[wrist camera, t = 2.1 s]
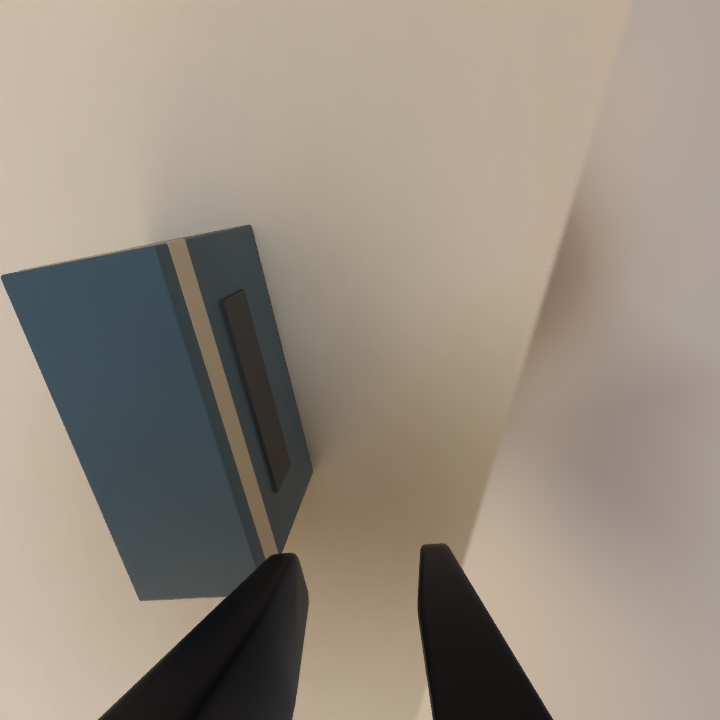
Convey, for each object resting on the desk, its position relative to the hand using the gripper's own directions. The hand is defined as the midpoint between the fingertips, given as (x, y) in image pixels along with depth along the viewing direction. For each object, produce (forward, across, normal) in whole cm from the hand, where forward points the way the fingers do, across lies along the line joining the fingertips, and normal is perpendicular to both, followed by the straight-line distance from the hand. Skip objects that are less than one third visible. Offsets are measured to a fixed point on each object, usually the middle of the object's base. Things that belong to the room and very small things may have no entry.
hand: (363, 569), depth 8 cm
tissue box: (+8, +7, 0) cm, 11 cm away
